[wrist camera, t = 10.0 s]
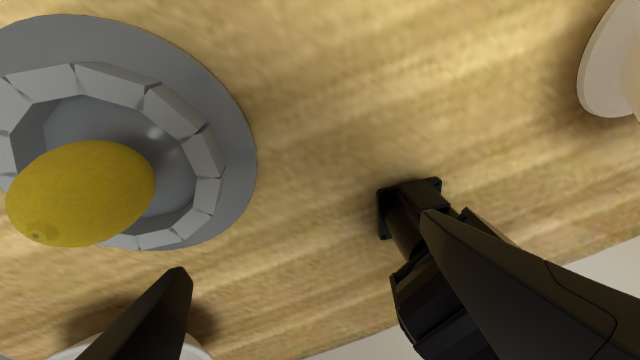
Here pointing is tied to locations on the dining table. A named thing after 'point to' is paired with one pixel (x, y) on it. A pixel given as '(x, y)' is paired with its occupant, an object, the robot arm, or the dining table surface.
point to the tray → (128, 120)
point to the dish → (191, 354)
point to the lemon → (80, 193)
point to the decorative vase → (612, 63)
